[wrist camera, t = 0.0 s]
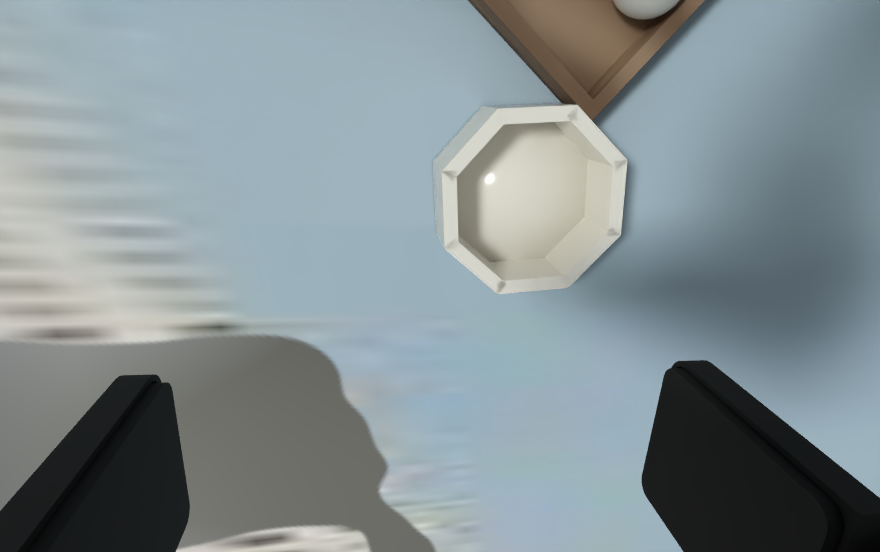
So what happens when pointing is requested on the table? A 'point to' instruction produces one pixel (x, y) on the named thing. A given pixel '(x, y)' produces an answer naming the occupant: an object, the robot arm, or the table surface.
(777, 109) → the table surface
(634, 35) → the tray
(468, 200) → the bowl
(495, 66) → the table surface
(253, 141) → the table surface
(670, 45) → the table surface
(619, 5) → the white ball
